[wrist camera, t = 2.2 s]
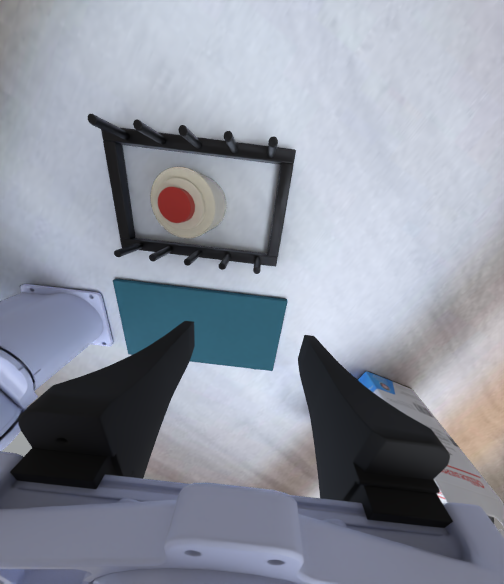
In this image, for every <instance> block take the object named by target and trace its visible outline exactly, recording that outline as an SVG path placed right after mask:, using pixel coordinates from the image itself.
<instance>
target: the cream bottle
mask: <svg viewBox="0 0 504 584" xmlns="http://www.w3.org/2000/svg"><path fill="white" fill-rule="evenodd" d="M150 198H151V206H152V210H153V213H154V215H155V217H156V219H157V220H158V222H159V223H160V224H161V226H162V227H163V228H164V229H165V230H167V231H168V232H169V233H171V234H173V235H175V236H177V237H180V238H195V237H198V236H200V235H202V234H204V233H206V232H208V231H209V230H211V229H213V228H215V227H216V226H218V225H219V224H220V223H221V221H222V220H223V218H224V216H225V213H226V199H225V195H224V193H223V191H222V189H221V188H220V186H219V185H218V184H217V183H216V182H215V181H214V180H212V179H210V178H208V177H206V176H204V175H202V174H200V173H197V172H195V171H193V170H191V169H188V168H185V167H172V168H168V169H166V170H164V171H163V172H161V173H160V174H159V175H158V176H157V178H156V179H155V181H154V183H153V185H152V189H151V196H150Z"/></svg>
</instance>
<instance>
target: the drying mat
mask: <svg viewBox="0 0 504 584" xmlns="http://www.w3.org/2000/svg"><path fill="white" fill-rule="evenodd" d="M113 283H114V288H115V293H116V298H117V303H118V307H119V312H120V317H121V322H122V326H123V331H124V336H125V341H126V345H127V350H128V354H131V355H133V354H135V353H137V352H139V351H141V350H142V349H144V348H146V347H148V346H149V345H151V344H152V343H154V342H155V341H157V340H158V339H160V338H162V337H163V336H164V335H166V334H167V333H169V332H170V331H171V330H173V329H174V328H175V327H177V326H178V325H180V324H181V323H182V322H184V321H192V322H194V336H195V347H194V350H193V353H192V356H191V359H190V361H192V362H200V363H209V364H217V365H226V366H235V367H243V368H252V369H260V370H269V371H273V366H274V362H275V357H276V352H277V348H278V343H279V338H280V334H281V329H282V324H283V320H284V315H285V310H286V306H287V299H282V298H274V297H266V296H257V295H249V294H240V293H232V292H224V291H215V290H207V289H198V288H190V287H182V286H173V285H165V284H156V283H148V282H140V281H131V280H123V279H115V280H113Z"/></svg>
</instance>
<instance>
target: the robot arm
mask: <svg viewBox="0 0 504 584" xmlns="http://www.w3.org/2000/svg"><path fill="white" fill-rule="evenodd" d="M20 289H21V292H22V293H20V294H18V295H15V296H12V297H10V298H7V299H4V300H2V301H0V584H504V538H503V536H502V535H501V533H500V532H499V531H498V530H497V528H496V527H495V525H494V524H493V522H492V521H491V520H490V518H489V517H488V515H487V514H486V513H485V511H484V510H483V509H482V507H480V506H478V505H472V504H463V503H445V504H442V502H441V500H440V499H439V497H438V495H437V494H436V493H439V492H440V490H439V488H438V486H437V484H436V483H435V481H434V478H435V477H436V476H437V475H438V474H439V473H441V472H442V471H443V470H444V469H445V468H446V466H447V465H448V464H449V460H450V455H449V452H448V451H447V449H446V448H445V447H444V445H443V444H442V443H441V441H440V440H439V439H438V437H437V436H436V435H435V433H434V432H433V431H432V429H430V428H429V427H427V426H425V425H423V424H422V423H420V422H418V421H417V420H415V419H413V418H411V417H410V416H408V415H406V414H404V413H403V412H401V411H400V410H398V409H397V408H395V407H394V406H392V405H390V404H389V403H387V402H386V401H385V400H383V399H382V398H380V397H379V396H377V395H376V394H375V393H373V392H372V391H371V390H369V389H368V388H367V387H365V386H364V385H363V384H362V383H361V382H359V381H358V380H357V379H356V378H355V377H353V376H352V375H351V374H350V373H349V372H348V371H347V370H346V369H345V368H344V367H343V366H342V365H340V364H339V363H338V361H337V360H336V359H335V358H334V357H333V356H332V355H331V354H330V353H329V352H328V351H327V350H326V349H325V348H324V347H323V345H322V344H321V343H320V342H319V341H318V340H317V339H316V338H315V337H314V336H309V335H304V339H303V342H302V346H301V349H300V353H299V356H298V365H299V372H300V377H301V381H302V385H303V389H304V393H305V397H306V401H307V405H308V409H309V413H310V419H311V425H312V431H313V438H314V446H315V453H316V461H317V470H318V479H319V489H320V498H311V497H302V496H293V495H288V494H286V493H284V492H280V491H275V490H269V489H260V488H252V487H243V486H234V485H225V484H216V483H193V484H186V483H177V482H169V481H160V480H151V479H143V477H144V474H145V471H146V468H147V465H148V462H149V459H150V456H151V453H152V450H153V447H154V444H155V441H156V438H157V435H158V433H159V430H160V427H161V424H162V422H163V419H164V416H165V414H166V411H167V408H168V406H169V403H170V401H171V398H172V396H173V394H174V392H175V390H176V388H177V386H178V384H179V382H180V380H181V378H182V376H183V374H184V372H185V369H186V367H187V365H188V363H189V361H190V359H191V356H192V353H193V350H194V347H195V336H194V322H192V321H184V322H182V323H181V324H180V325H178V326H177V327H175V328H174V329H173V330H171V331H170V332H169V333H167V334H166V335H164V336H163V337H162V338H160V339H158V340H157V341H155V342H154V343H152V344H151V345H149V346H148V347H146V348H144V349H142V350H141V351H139V352H137V353H135V354H133V355H131V356H129V357H127V358H125V359H123V360H121V361H119V362H117V363H114V364H112V365H110V366H108V367H105V368H103V369H100V370H98V371H95V372H92V373H90V374H87V375H84V376H81V377H78V378H75V379H72V380H69V381H66V382H63V383H59V384H56V385H53V386H52V387H51V388H49V389H48V390H47V391H46V392H45V393H44V394H43V395H41V396H40V397H39V398H38V396H37V395H36V393H35V392H34V391H35V390H36V389H37V388H39V387H40V386H41V385H42V384H43V383H45V382H46V381H47V380H48V379H49V378H51V377H52V376H53V375H54V374H55V373H57V372H58V371H59V370H60V369H61V368H63V367H64V366H65V365H66V364H67V363H69V362H70V361H71V360H72V359H73V358H75V357H76V356H77V355H78V354H79V353H81V352H82V351H83V350H84V349H85V348H87V347H88V346H89V345H90V344H93V345H102V346H111V345H112V344H113V339H112V335H111V331H110V327H109V323H108V319H107V315H106V311H105V307H104V303H103V299H102V295H101V294H100V293H98V292H90V291H82V290H73V289H65V288H57V287H48V286H40V285H31V284H22V285H20ZM36 398H38V399H37V400H36V401H35V402H34V403H32V402H33V401H34V400H35V399H36ZM31 403H32V404H31ZM30 404H31V405H30ZM28 405H30V406H29V407H28V408H27V406H28ZM20 431H22V432H23V434H24V436H25V437H26V438H27V440H28V442H29V443H30V444H31V446H32V449H31V450H30V451H29V452H28V453H27V454H26V455H25V457H23V456H21V455H19V454H16V453H10V452H1V451H2V450H4V449H5V448H6V447H7V446H8V445H9V444H10V443H11V441H13V440H14V438H15V437H16V436H17V435H18V433H19V432H20Z"/></svg>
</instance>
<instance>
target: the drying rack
mask: <svg viewBox="0 0 504 584" xmlns="http://www.w3.org/2000/svg"><path fill="white" fill-rule="evenodd" d="M88 121H89V122H90V124H92V125H93V126H96V127H98V128H100V129H101V131H102V136H103V140H104V141H103V143H104V149H105V154H106V160H107V166H108V171H109V177H110V183H111V188H112V194H113V200H114V206H115V211H116V217H117V223H118V228H119V234H120V240H121V245H122V248H121V249H118V250H116V251H114V255H115V256H116V257H121V256H124V255H126V254H129V253H131V252H134V251H136V250H143V251H152V252H155V253H153V254H151V255H150V256H149V259H150V260H151V261H156V260H158V259H159V258H161V257H163V256H165V255H167V254H177V255H185V256H189V257H187V258H186V259H185V260H184V264H185V265H187V266H188V265H190V264H191V263H193V262H194V261H195V260H196V259H197V258H198V257H202V258H210V259H218V260H222V261H221V262H220V264H219V268H220V269H222V270H223V269H225V268H226V266H227V264H228V262H229V261H235V262H243V263H252V264H254V269H253V271H254V273H255V274H258V273H260V265H268V266H276V264H277V258H278V252H279V247H280V241H281V235H282V229H283V223H284V217H285V211H286V206H287V200H288V194H289V188H290V182H291V176H292V170H293V163H294V159H295V153H296V150H294V149H286V148H278V147H277V144H278V140H277V138H276V137H271V138H270V139H269V143H268V146H262V145H254V144H246V143H238V142H235V139H234V137H233V135H232V133H231V132H230V131H226V132H225V133H224V139H225V141H222V140H214V139H206V138H198V137H196V136H195V135H194V134H193V133H192V132H191V131H190V130H189V129H188V128H187V127H186V126H184V125H181V126H180V127H179V134H180V135H174V134H166V133H158V132H156V131H155V130H153V129H152V128H150V127H149V126H147V125H146V124H144V123H143V122H141V121H140V120H135V121H134V123H133V125H134V128H135V129H136V130H134V129H126V128H118V127H117V126H115V125H113V124H111V123H109V122H107V121H105V120H103V119H101V118H99V117H97V116H95V115H93V114H89V115H88ZM122 145H129V146H137V147H145V148H153V149H161V150H169V151H177V152H185V153H193V154H201V155H210V156H218V157H226V158H234V159H242V160H250V161H258V162H266V163H274V164H281V167H280V174H279V180H278V187H277V194H276V201H275V207H274V214H273V221H272V228H271V235H270V241H269V248H268V254H265V253H257V252H249V251H240V250H232V249H224V248H215V247H207V246H199V245H191V244H182V243H174V242H166V241H157V240H149V239H141V238H135V232H134V225H133V218H132V211H131V204H130V197H129V190H128V183H127V176H126V169H125V162H124V155H123V148H122Z"/></svg>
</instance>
